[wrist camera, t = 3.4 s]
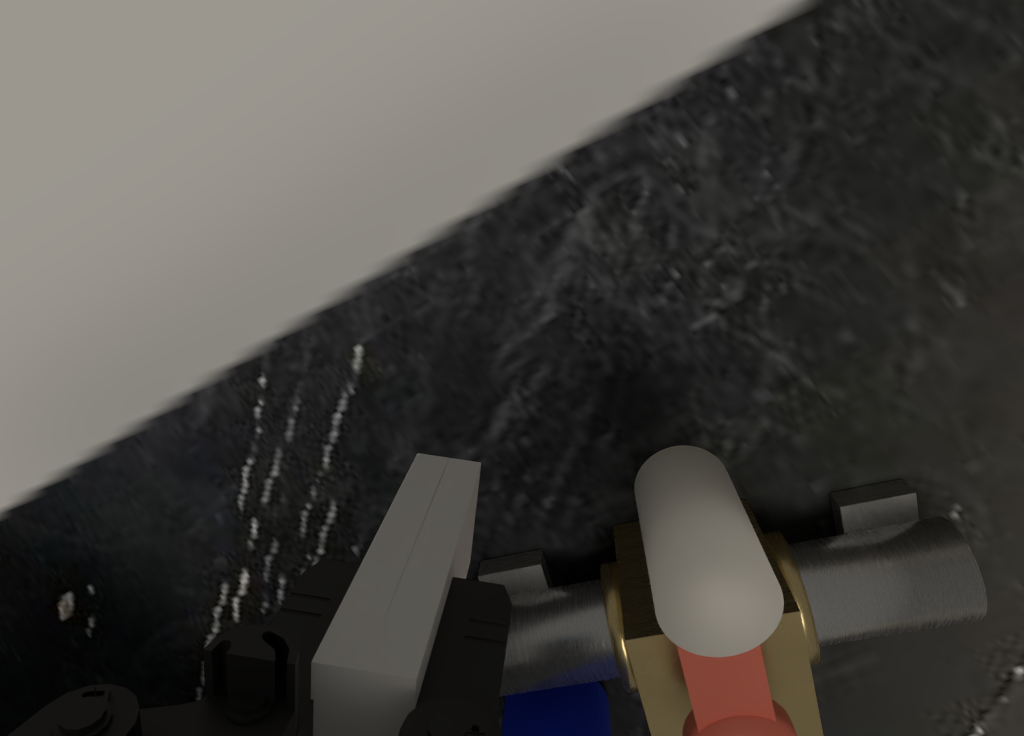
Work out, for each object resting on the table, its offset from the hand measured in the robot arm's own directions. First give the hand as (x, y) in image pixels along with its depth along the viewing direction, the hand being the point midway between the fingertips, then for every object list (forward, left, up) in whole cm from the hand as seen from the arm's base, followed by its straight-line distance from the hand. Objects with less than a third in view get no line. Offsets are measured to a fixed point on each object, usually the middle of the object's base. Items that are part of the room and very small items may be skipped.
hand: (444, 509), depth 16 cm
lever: (+6, -8, -4) cm, 10 cm away
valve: (+6, -13, -13) cm, 19 cm away
